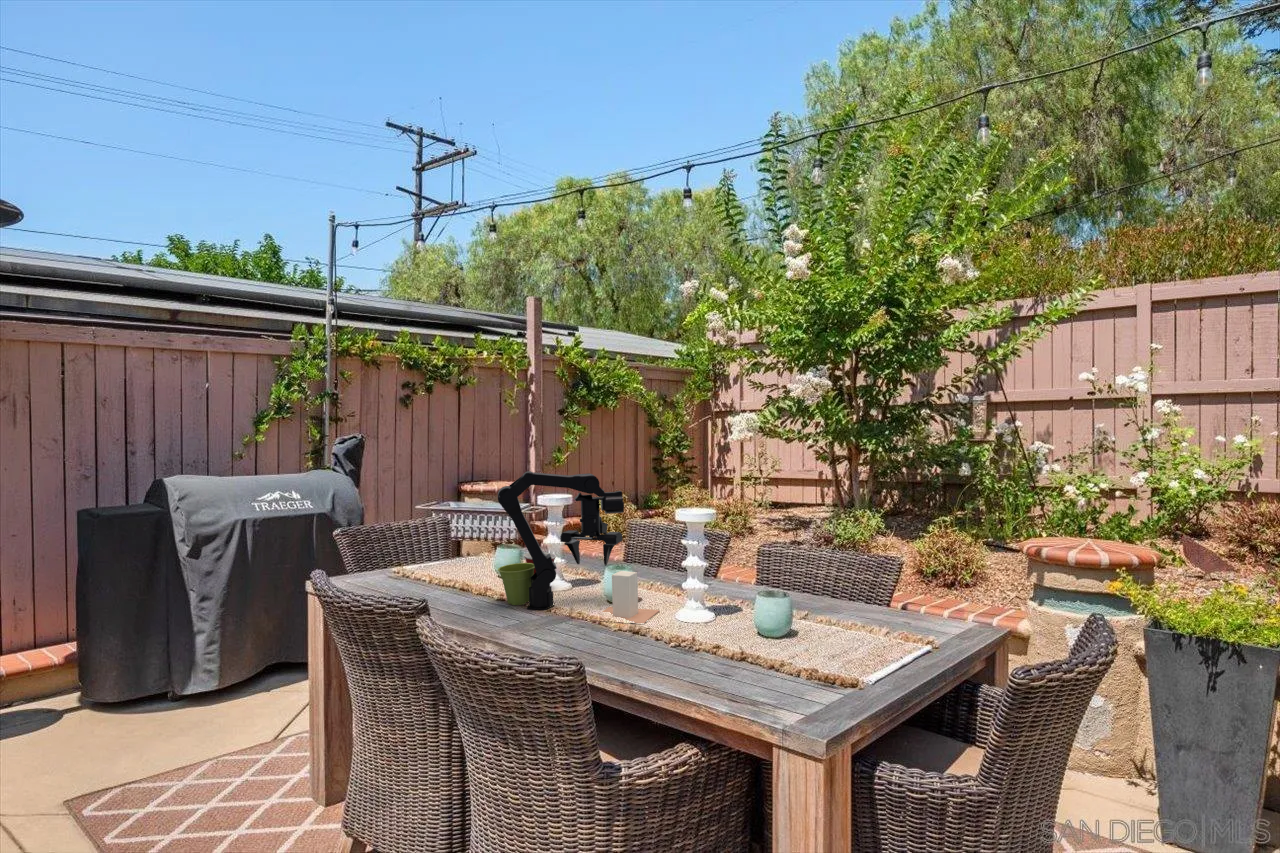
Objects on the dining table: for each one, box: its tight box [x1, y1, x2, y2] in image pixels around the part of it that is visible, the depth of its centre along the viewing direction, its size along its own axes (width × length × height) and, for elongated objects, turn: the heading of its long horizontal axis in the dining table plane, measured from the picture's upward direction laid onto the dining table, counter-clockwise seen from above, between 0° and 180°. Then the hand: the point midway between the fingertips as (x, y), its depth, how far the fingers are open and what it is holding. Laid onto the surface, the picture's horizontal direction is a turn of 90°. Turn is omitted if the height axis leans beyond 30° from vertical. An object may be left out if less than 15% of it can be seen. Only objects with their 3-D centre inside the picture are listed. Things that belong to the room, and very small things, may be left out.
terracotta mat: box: [590, 606, 661, 624], centre depth 230 cm, size 16×14×1 cm
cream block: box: [611, 570, 639, 618], centre depth 229 cm, size 6×6×12 cm
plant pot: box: [497, 562, 535, 606], centre depth 248 cm, size 12×12×11 cm
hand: (592, 564), depth 245 cm, fingers open, 9 cm apart
